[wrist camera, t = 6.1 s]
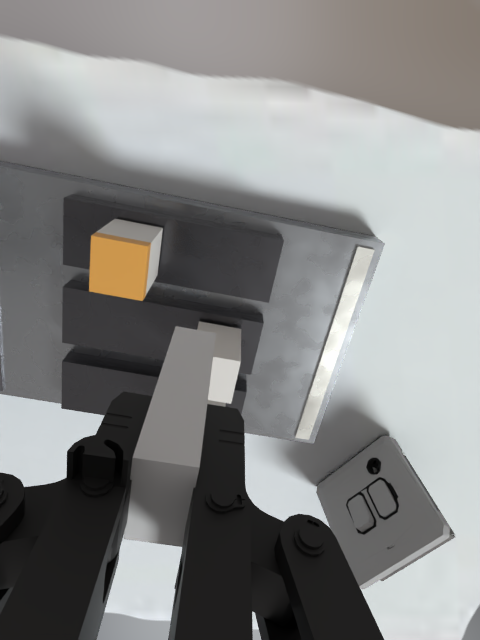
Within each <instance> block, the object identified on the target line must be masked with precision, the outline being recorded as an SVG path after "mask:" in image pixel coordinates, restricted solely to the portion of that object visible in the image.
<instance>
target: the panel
mask: <svg viewBox="0 0 480 640" xmlns="http://www.w3.org/2000/svg"><path fill="white" fill-rule="evenodd" d="M114 219H120V220H125V221H130V222H135V223H140V224H145V225H150V226H155V227H161V228H163V231H162V240H161V249H160V257H159V266H158V275H157V277H156V279H155V280H154V282H153V284H152V286H151V287H150V289H149V291H148V293H147V294H146V296H145V298H144V299H143V301H139V300H134V299H128V298H123V297H117V296H112V295H106V294H101V293H95V292H90V291H89V276H90V251H91V235H93V234H94V233H96V232H97V231H98V230H100V229H101V228H103V227H104V226H105V225H107V224H108V223H110V222H111V221H112V220H114ZM383 247H384V243H383V242H382V241H381V240H380V239H378V238H377V237H375V236H370V235H365V234H360V233H355V232H350V231H346V230H341V229H336V228H331V227H326V226H321V225H316V224H311V223H306V222H301V221H296V220H291V219H286V218H281V217H276V216H271V215H266V214H261V213H256V212H251V211H246V210H241V209H236V208H231V207H227V206H222V205H217V204H212V203H207V202H202V201H197V200H192V199H187V198H182V197H177V196H172V195H167V194H162V193H157V192H152V191H147V190H142V189H137V188H132V187H127V186H122V185H117V184H112V183H108V182H103V181H98V180H93V179H88V178H83V177H78V176H73V175H68V174H63V173H58V172H53V171H48V170H43V169H38V168H33V167H28V166H23V165H18V164H13V163H8V162H3V161H0V394H5V395H11V396H17V397H23V398H30V399H36V400H42V401H48V402H55V403H61V404H62V407H61V408H62V409H69V410H75V411H81V412H87V413H94V414H100V415H106V412H107V410H108V408H109V406H110V404H111V402H112V400H113V399H115V398H116V397H117V396H119V395H120V394H121V393H122V392H130V393H136V394H143V395H149V396H153V394H154V391H155V388H156V385H157V382H158V379H159V376H160V372H161V369H162V366H163V363H164V360H165V357H166V354H167V351H168V348H169V345H170V342H171V339H172V336H173V333H174V330H175V327H176V326H178V327H183V328H189V329H195V330H197V328H198V324H199V321H200V322H205V323H211V324H217V325H222V326H228V327H233V328H239V329H241V363H240V367H239V372H238V376H237V381H236V385H235V389H234V394H233V398H232V402H231V404H229V403H226V406H225V407H230V408H236V409H238V410H239V412H240V414H241V416H242V417H243V419H244V433H249V434H255V435H262V436H268V437H274V438H280V439H287V440H293V441H299V442H306V443H312V444H314V442H315V439H316V436H317V433H318V430H319V427H320V425H321V422H322V419H323V416H324V413H325V411H326V408H327V405H328V402H329V399H330V396H331V394H332V391H333V388H334V385H335V382H336V380H337V377H338V374H339V371H340V368H341V366H342V363H343V360H344V357H345V354H346V351H347V349H348V346H349V343H350V340H351V337H352V335H353V332H354V329H355V326H356V323H357V320H358V318H359V315H360V312H361V309H362V306H363V304H364V301H365V298H366V295H367V292H368V289H369V287H370V284H371V281H372V278H373V275H374V273H375V270H376V267H377V264H378V261H379V259H380V256H381V253H382V250H383Z"/></svg>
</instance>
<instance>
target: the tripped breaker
mask: <svg viewBox="0 0 480 640" xmlns="http://www.w3.org/2000/svg"><path fill="white" fill-rule="evenodd" d="M162 231H163V228H161V227H155V226H150V225H145V224H140V223H135V222H130V221H125V220H120V219H114V220H112V221H111V222H110V223H108V224H107V225H105V226H104V227H103V228H101V229H100V230H98V231H97V232H96V233H94V234H93V235H91V251H90V276H89V291H90V292H95V293H101V294H106V295H112V296H117V297H123V298H128V299H134V300H139V301H143V299H144V298H145V296H146V294H147V293H148V291H149V289H150V287H151V286H152V284H153V282H154V280H155V279H156V277H157V275H158V266H159V257H160V249H161V240H162Z"/></svg>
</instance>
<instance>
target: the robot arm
mask: <svg viewBox="0 0 480 640" xmlns="http://www.w3.org/2000/svg"><path fill="white" fill-rule="evenodd" d="M215 337H216V333H212V332H206V331H200V330H195V329H189V328H183V327H178V326H176V327H175V330H174V333H173V336H172V339H171V342H170V345H169V348H168V351H167V354H166V357H165V360H164V363H163V366H162V369H161V372H160V376H159V379H158V382H157V385H156V388H155V391H154V394H153V396H149V395H143V394H136V393H130V392H122V393H121V394H120V395H119V396H117V397H116V398H115V399H113V400H112V402H111V404H110V406H109V408H108V410H107V412H106V415H105V416H104V418H103V421H102V423H101V425H100V427H99V429H98V431H97V433H96V435H93V436H89V437H85V438H83V439H81V440H79V441H78V442H76V443H74V444H73V445H72V447H71V448H70V449H69V450H68V451H67V478H65V479H63V480H61V481H58V482H56V483H51V484H46V485H38V486H30V487H24V486H23V484H22V482H21V480H20V479H18V478H16V477H15V476H13V475H11V474H5V473H0V640H96V639H97V636H98V632H99V628H100V625H101V621H102V618H103V614H104V611H105V607H106V604H107V600H108V596H109V593H110V589H111V586H112V582H113V579H114V575H115V571H116V568H117V564H118V559H119V549H120V545H121V542H122V538H123V535H124V539H127V540H135V541H142V542H150V543H157V544H165V545H173V546H180V547H182V554H181V559H180V564H179V569H178V574H177V579H176V584H175V588H174V589H176V590H175V597H174V604H173V610H172V617H171V624H170V632H169V638H168V640H252V611H253V612H255V614H256V619H257V623H258V627H259V631H260V635H261V639H262V640H384V638H383V636H382V634H381V632H380V630H379V628H378V626H377V623H376V621H375V619H374V617H373V615H372V613H371V611H370V609H369V606H368V604H367V602H366V600H365V598H364V596H363V594H362V591H361V589H360V587H359V585H358V583H357V581H356V579H355V577H354V574H353V572H352V570H351V568H350V566H349V564H348V562H347V560H346V557H345V555H344V553H343V551H342V549H341V547H340V545H339V543H338V540H337V538H336V537H335V535H334V534H333V532H332V531H331V529H330V528H329V527H328V526H327V525H326V524H324V523H323V522H322V521H321V520H319V519H317V518H315V517H312V516H310V515H303V514H297V515H294V516H290V517H289V518H288V519H287V520H285V521H284V522H283V521H281V520H279V519H277V518H275V517H272V516H270V515H268V514H266V513H265V512H263V511H261V510H260V509H259V508H257V507H256V506H255V505H254V504H253V503H252V501H251V500H250V499H249V497H248V494H247V492H246V488H245V446H244V444H245V441H244V419H243V417H242V416H241V414H240V412H239V410H238V409H236V408H230V407H224V406H218V405H211V404H207V403H208V394H209V386H210V378H211V370H212V362H213V354H214V346H215Z"/></svg>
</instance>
